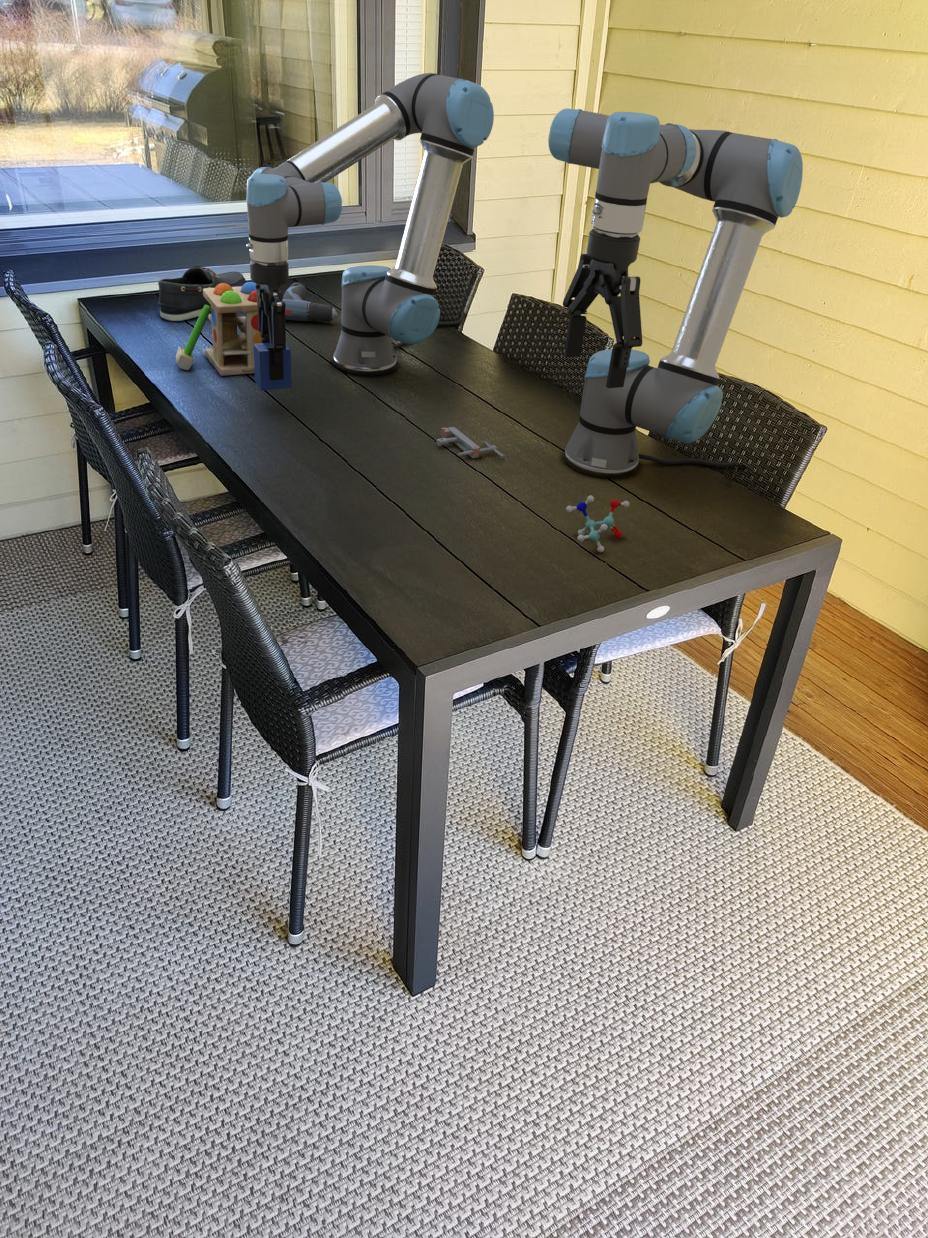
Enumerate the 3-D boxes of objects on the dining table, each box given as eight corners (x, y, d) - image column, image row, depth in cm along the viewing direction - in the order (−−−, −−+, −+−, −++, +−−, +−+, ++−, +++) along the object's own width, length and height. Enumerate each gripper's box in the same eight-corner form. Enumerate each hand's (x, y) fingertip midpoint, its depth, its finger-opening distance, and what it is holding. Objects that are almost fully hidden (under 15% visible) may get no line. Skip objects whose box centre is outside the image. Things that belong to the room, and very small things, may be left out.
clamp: (428, 429, 204) (470, 423, 208) (427, 439, 205) (469, 432, 209) (464, 459, 193) (507, 451, 198) (463, 469, 194) (506, 461, 199)
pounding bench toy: (183, 379, 220) (176, 299, 210) (169, 357, 231) (162, 280, 221) (282, 371, 230) (280, 294, 220) (264, 350, 240) (262, 276, 230)
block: (255, 382, 208) (253, 343, 203) (285, 379, 211) (284, 341, 206) (261, 390, 205) (259, 351, 200) (291, 387, 207) (290, 349, 202)
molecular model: (629, 546, 167) (611, 490, 165) (576, 561, 170) (559, 506, 169) (639, 535, 177) (623, 482, 176) (590, 549, 181) (573, 498, 179)
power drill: (344, 304, 276) (335, 327, 259) (277, 298, 275) (264, 321, 258) (344, 285, 273) (335, 306, 256) (277, 279, 272) (264, 300, 255)
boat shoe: (265, 300, 274) (264, 261, 269) (177, 323, 251) (173, 281, 245) (232, 291, 280) (229, 254, 275) (142, 313, 256) (138, 272, 251)
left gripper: (239, 249, 198) (244, 360, 211) (262, 274, 185) (266, 391, 198) (275, 247, 201) (278, 358, 214) (300, 272, 188) (302, 388, 201)
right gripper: (553, 211, 151) (536, 345, 163) (638, 254, 133) (612, 402, 145) (595, 210, 154) (575, 343, 166) (684, 253, 136) (655, 398, 148)
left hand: (273, 374), depth 206 cm, fingers closed on block, 5 cm apart
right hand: (592, 371), depth 156 cm, fingers open, 13 cm apart
